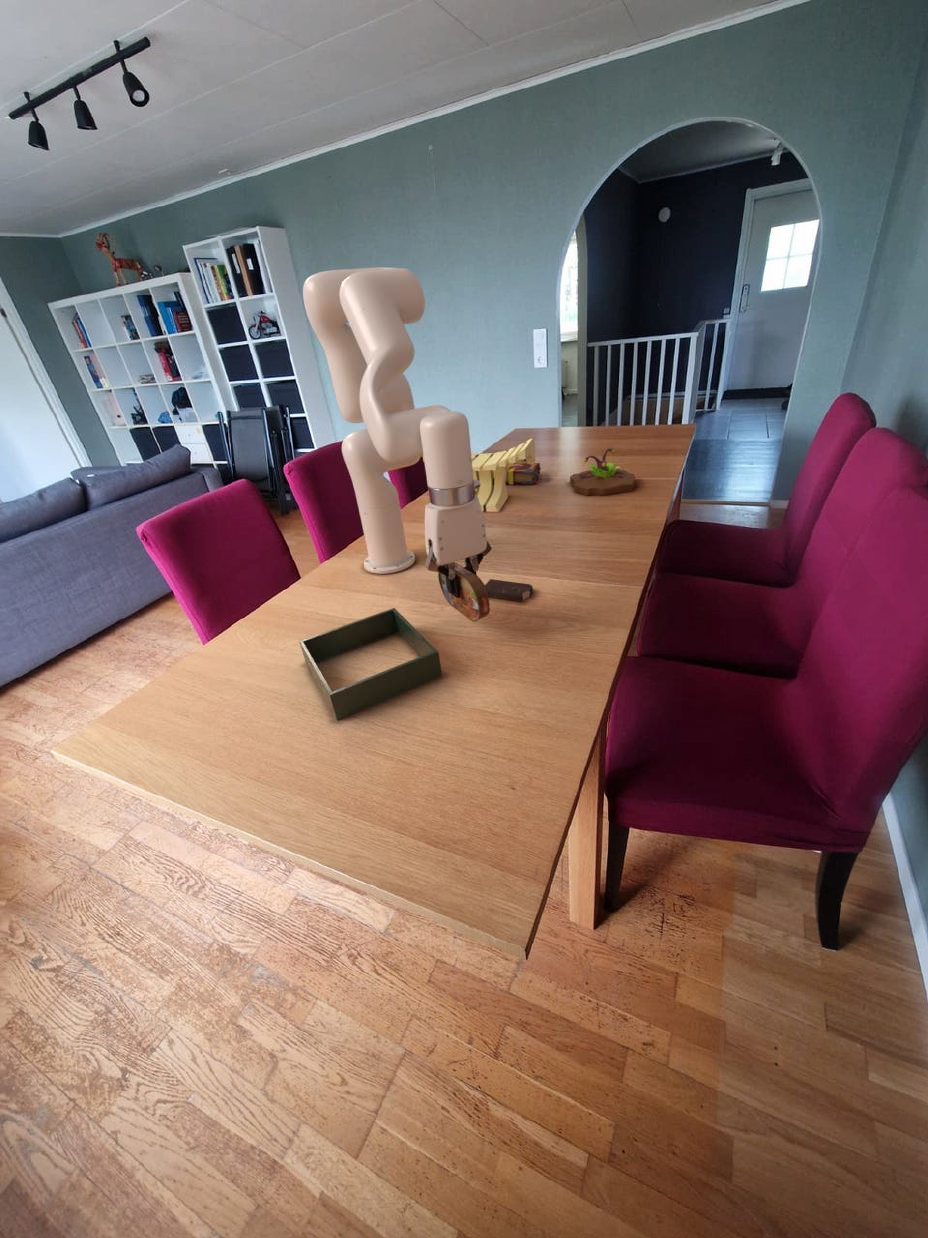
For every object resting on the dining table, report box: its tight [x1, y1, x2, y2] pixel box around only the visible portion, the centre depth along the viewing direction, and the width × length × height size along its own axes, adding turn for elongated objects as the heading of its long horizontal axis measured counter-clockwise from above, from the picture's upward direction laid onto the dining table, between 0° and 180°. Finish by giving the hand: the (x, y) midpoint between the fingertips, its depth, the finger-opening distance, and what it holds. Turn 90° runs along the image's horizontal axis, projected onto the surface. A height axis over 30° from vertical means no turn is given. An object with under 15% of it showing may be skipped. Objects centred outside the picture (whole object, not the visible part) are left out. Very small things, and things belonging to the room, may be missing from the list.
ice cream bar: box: [484, 578, 534, 603], centre depth 107 cm, size 5×2×15 cm
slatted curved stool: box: [422, 437, 536, 513], centre depth 154 cm, size 30×16×18 cm, turn 74°
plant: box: [569, 448, 637, 496], centre depth 159 cm, size 20×20×11 cm
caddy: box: [298, 607, 443, 722], centre depth 87 cm, size 18×18×5 cm
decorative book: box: [505, 462, 542, 485], centre depth 175 cm, size 11×16×5 cm
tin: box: [437, 562, 491, 623], centre depth 93 cm, size 15×3×8 cm, turn 30°
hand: (462, 591), depth 93 cm, fingers closed on tin, 2 cm apart
